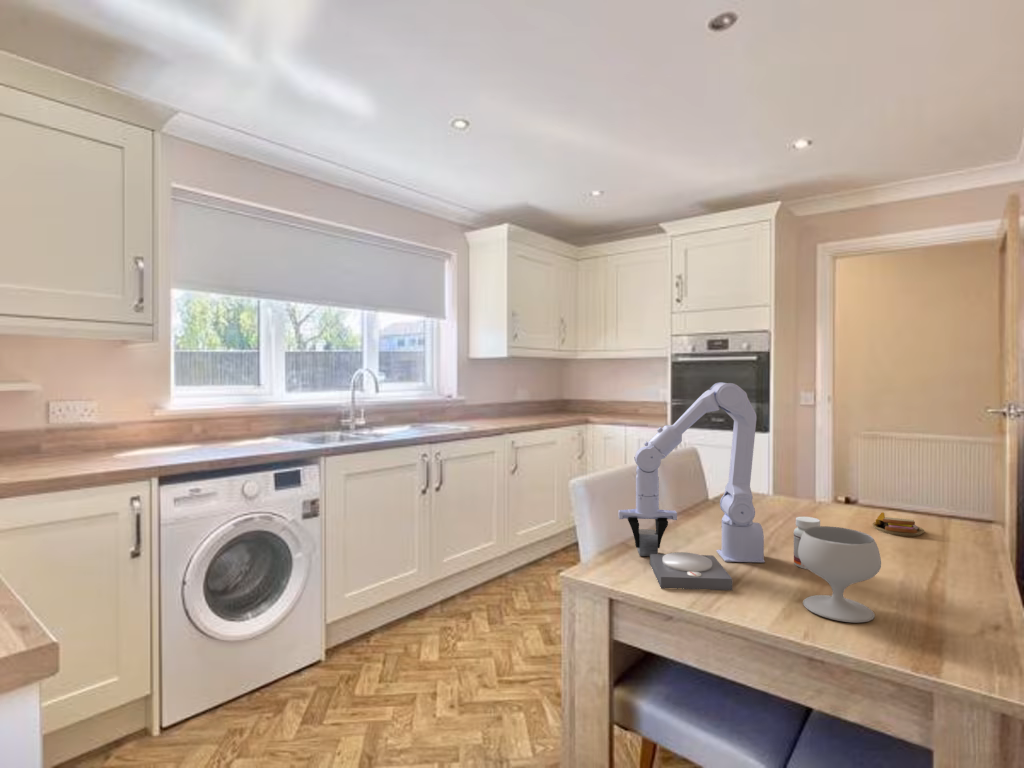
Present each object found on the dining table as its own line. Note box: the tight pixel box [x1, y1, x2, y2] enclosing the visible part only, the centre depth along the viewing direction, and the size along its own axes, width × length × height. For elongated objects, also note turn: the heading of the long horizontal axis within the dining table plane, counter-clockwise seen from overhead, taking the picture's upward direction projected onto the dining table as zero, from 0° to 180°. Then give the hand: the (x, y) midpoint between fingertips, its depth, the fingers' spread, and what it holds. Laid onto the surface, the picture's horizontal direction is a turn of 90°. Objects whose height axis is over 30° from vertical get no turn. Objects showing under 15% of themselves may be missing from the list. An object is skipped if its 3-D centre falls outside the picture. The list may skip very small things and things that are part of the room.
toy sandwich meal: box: [871, 511, 925, 537], centre depth 161 cm, size 12×14×5 cm
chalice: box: [798, 525, 882, 624], centre depth 108 cm, size 14×14×15 cm
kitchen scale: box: [649, 551, 733, 591], centre depth 126 cm, size 15×15×3 cm
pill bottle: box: [793, 516, 821, 571], centre depth 132 cm, size 6×6×11 cm
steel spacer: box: [636, 528, 659, 557], centre depth 142 cm, size 4×4×6 cm
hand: (647, 546), depth 142 cm, fingers closed on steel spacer, 4 cm apart
